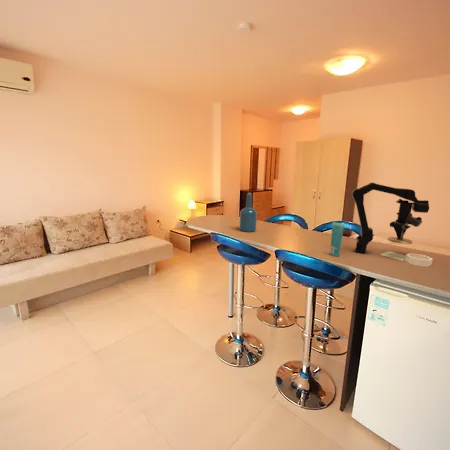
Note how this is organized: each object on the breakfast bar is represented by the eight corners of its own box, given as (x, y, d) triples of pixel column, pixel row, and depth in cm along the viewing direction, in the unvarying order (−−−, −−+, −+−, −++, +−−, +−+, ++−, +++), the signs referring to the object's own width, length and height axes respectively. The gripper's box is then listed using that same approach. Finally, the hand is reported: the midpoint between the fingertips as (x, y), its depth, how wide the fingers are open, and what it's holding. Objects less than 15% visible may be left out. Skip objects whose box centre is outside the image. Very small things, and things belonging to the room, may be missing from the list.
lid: (407, 245, 143) (408, 235, 142) (383, 240, 152) (385, 231, 151) (415, 242, 150) (417, 233, 149) (392, 237, 159) (394, 228, 158)
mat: (402, 261, 145) (402, 260, 145) (379, 255, 155) (379, 254, 155) (411, 257, 152) (411, 256, 152) (389, 252, 162) (389, 251, 162)
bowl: (425, 268, 135) (427, 261, 135) (402, 262, 144) (403, 255, 143) (433, 264, 142) (435, 257, 141) (410, 258, 151) (411, 252, 150)
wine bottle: (255, 232, 201) (257, 193, 195) (238, 231, 203) (240, 193, 197) (256, 228, 214) (258, 192, 208) (240, 227, 216) (241, 191, 210)
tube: (342, 255, 153) (346, 223, 149) (339, 257, 149) (343, 224, 145) (329, 252, 158) (333, 221, 154) (326, 254, 154) (330, 222, 150)
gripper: (414, 215, 136) (409, 243, 139) (427, 212, 146) (422, 239, 150) (391, 211, 144) (386, 239, 148) (405, 209, 155) (400, 234, 158)
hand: (400, 238), depth 151 cm, fingers closed on lid, 3 cm apart
